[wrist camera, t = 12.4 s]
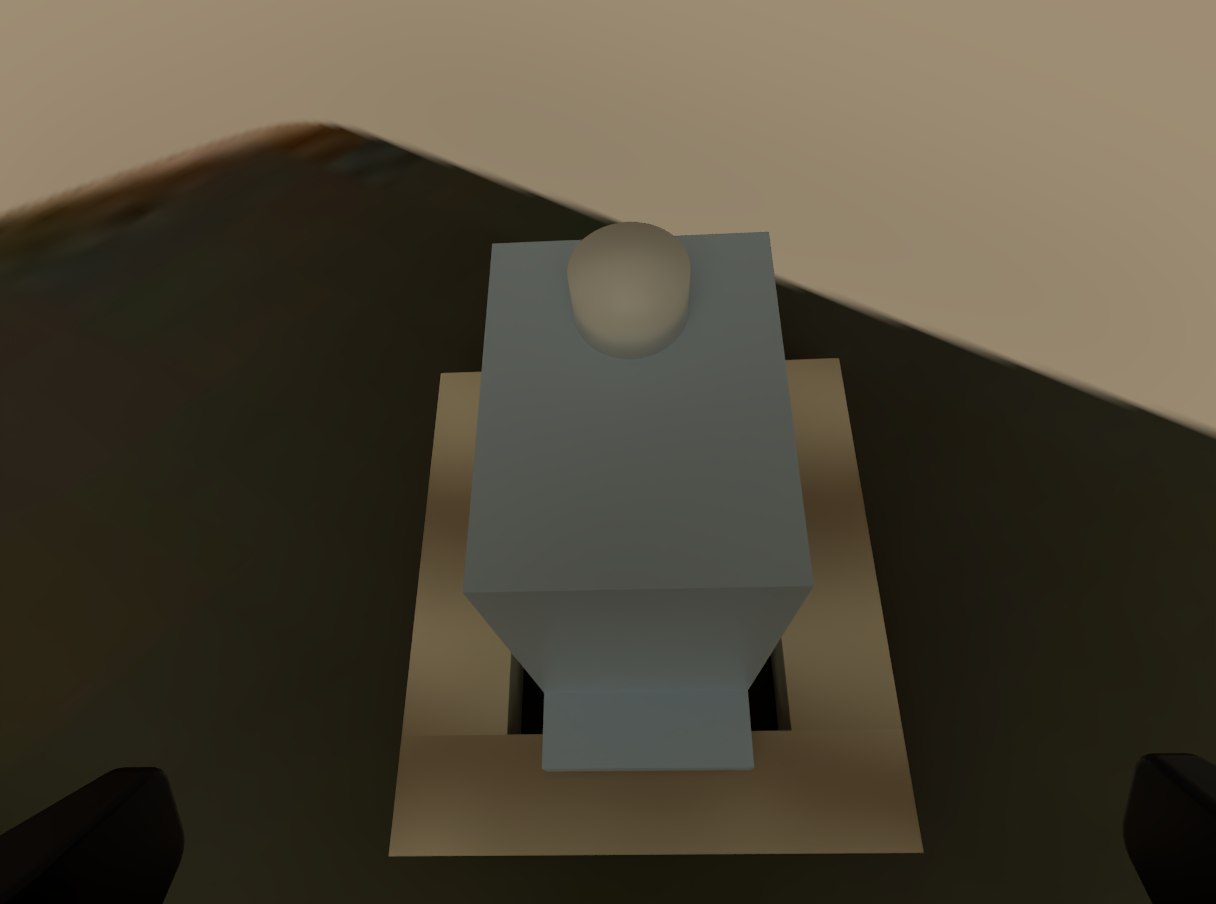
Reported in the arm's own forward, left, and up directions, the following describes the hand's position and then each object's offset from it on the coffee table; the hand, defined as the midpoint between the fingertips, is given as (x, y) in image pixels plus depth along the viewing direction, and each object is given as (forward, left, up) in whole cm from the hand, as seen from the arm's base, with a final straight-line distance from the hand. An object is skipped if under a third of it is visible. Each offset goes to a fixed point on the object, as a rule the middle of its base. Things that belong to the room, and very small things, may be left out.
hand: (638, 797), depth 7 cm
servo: (+5, -3, -13) cm, 14 cm away
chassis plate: (+5, -3, -13) cm, 14 cm away
